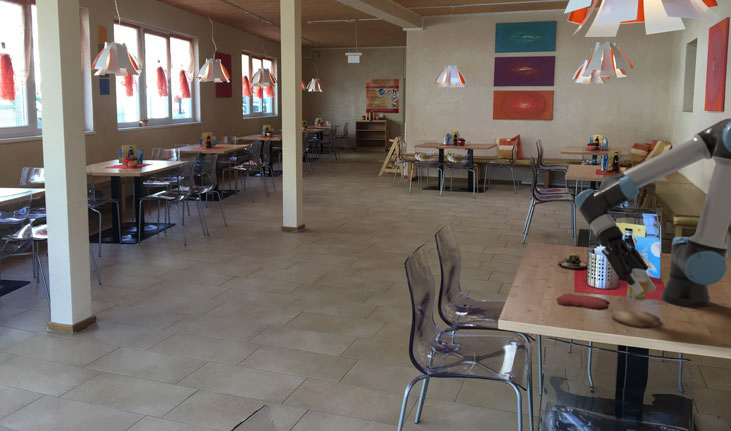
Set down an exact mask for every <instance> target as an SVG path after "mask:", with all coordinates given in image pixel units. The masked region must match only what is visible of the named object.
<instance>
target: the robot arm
mask: <svg viewBox="0 0 731 431" xmlns="http://www.w3.org/2000/svg"><path fill="white" fill-rule="evenodd" d="M710 159H712V160H713V161H714V162H715V165H714V167H713V171H712V175H711V178H710V181H709V186H708V189H707V191H706V192H707V193H706V196H705V198H704V202H703V205H702V209H701V212H700V216H699V219H698V223H697V226H696V229H695V230H696V231H695V234H693V235H692V236H675V237H674V238H673V239H672V243H671V251H670V252H671V253H670V254H671V255H670V266H669V275H668V276H669V278H668V280H667V283H666V285H665V288H664V289H663V290H662V292H661V293H662V294H661V299H662V300H663V301H664V302H666V303H668V304H672V305H676V306H679V307H689V308H705V307H704V306H706V307H708V305H709V304H711V297H710V294H709V288H708V286H710V285H711V286H712V285H713V284H716V283H718V282H720V281H721V280H722V279H723V278H724V276H725V275H726V273H727V270H728V269H727V268H728V265H727V262H726V254H727V252H728V245H727V244H726V242H725V239H726V236H727V233H728V230H729V226H730V223H731V118H725V119H722V120H720V121H718V122H716V123H714V124H712V125H711V126H709V127H707V128H705V129H703V130H701V131H699V132H698V133H696V134H694V135H693V138H691V139H690V140H688V141H685V142H684V143H681V144H679V145H677V146H675V147H673V148H670V149H669V150H667V151H664V152H663V153H661V154H658V155H656V156H654V157H652V158H649V159H647V160H646V161H643V162H641V163H638V164H637V165H634V166H632V167H630V168H629V169H626V170H624V171H621V172H620V173H618V174H615V175H613V176H608V177H606V178H604V179H603V180H602V182H601V184H600V190H598V191H595V190H594V189H593V188H587V189H585V190H582V191H581V192H579V193H578V194H577V195H576V197H575V199H574V203H575V205H576V208H577V209H578V210H579V212H580V214H581V215H582V217H583V218H584V220H585V222H586V223H587V225H588V226H589V227H590V228H591V230H592V232H593V233H594V235H595V236H596V238H597V240H598V241H599V243H600V245H601V246H602V247H603V248H602V249H601V253H602V254H603V256H605V258H606V259H607V261H608V262H609V264H610V265H611V267H612V269H613V271H614V272H615V274H616V275H617V276H618V277H620V279H621V280H623V279H625V281H626V282H627V285H628V284H629V285H630V286H631V288H632V289H633V291H634V292H635V294H636V295H639V294H640V293H642V292H643V291H644V290H643V288H642V287H641V285H640V284H639V282H638V281H637V279H636V278H635V276H634V275H633V273H632V272H630V269H629V267H628V265H627V263H628V264H629V265H630V266H631V268H632V269H643V270H645V271H646V275H645V276H644V277H646V278H647V286H646V292H648V294H651V293H652V292H654V291H655V290H656V289H657V287H656V285H655V284H654V282H653V281H652V279H651V278H650V276H649V274H648V273H647V271H648V269H649V266H648V265H647V263H646V262H645V261H644V259H643V257H642V256H641V254H640V253H639V251H638V250H637V248H636V246H635V245H634V243H633V242H632V243H627V242H626V241H625V240H624V238H623V237H624V233H623V232H622V230H621V228H620V227H619V226H618V225H617V222H616V221H615V219H614V218H613V217H612V215H611V214H610V211H612V210H613V209H616V208H618V207H619V206H621V205H623V204H625V203H627V202H629V201H630V200H632V199H633V198H635V197H636V196H638V195H639V194H640V188H642V187H644V186H647V185H649V184H650V183H653V182H655V181H657V180H658V181H659V179H662V178H664V177H666V176H669V175H670V174H673V173H675V172H677V171H679V170H681V169H684V168H686V167H688V166H690V165H693V164H694V163H697V162H699V161H701V160H710ZM626 262H627V263H626ZM709 306H710V305H709Z"/></svg>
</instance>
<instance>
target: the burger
mask: <svg viewBox="0 0 731 431" xmlns="http://www.w3.org/2000/svg"><path fill="white" fill-rule="evenodd" d="M577 251H578V250H576V251H575V252H577ZM557 264H558V266H559V264H561V265H560V266H561V267H564V268H565V267H566V268H570V269H582V270H583V269H585V268H586V267H587V268H588V264H587V263H586V262H582V260H581V257H580V255H579V254H577V253H571V254H569V256H568V258H567V257H565V258H563V260H560V261H558V263H557ZM587 268H586V269H587ZM586 269H585V270H586Z"/></svg>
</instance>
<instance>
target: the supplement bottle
mask: <svg viewBox="0 0 731 431" xmlns="http://www.w3.org/2000/svg"><path fill="white" fill-rule="evenodd" d="M631 273H633V275H634V276H635V278H636V279H637V281H638V282H639V284H640V285H641V287H642V288H643V290H644V291H643V292H642V293H640V294H639V295H636V294H635V292H634V291H633V289H632V288H631V286H630V285H629V284H628V283H627V292H626V299H627V300H629V301H633V302H644V301H645V300H646V293H647V289H646V286H647V278H646V277H644V276H645V275H646V273H647V270H646V271H645V270H643V269H634V268H632V269H631Z"/></svg>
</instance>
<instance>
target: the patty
mask: <svg viewBox="0 0 731 431" xmlns="http://www.w3.org/2000/svg"><path fill="white" fill-rule="evenodd" d="M556 302H557V304H558V305H559V306H563V307H573V308H584V309H588V310H600V311H601V310H606V309H608V308H609V305H610V301H609V300H608V299H605V298H601V297H597V296H591V295H583V294H582V295H579V294H573V293H564V294H562V295H560V296H558V297H557V298H556Z"/></svg>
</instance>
